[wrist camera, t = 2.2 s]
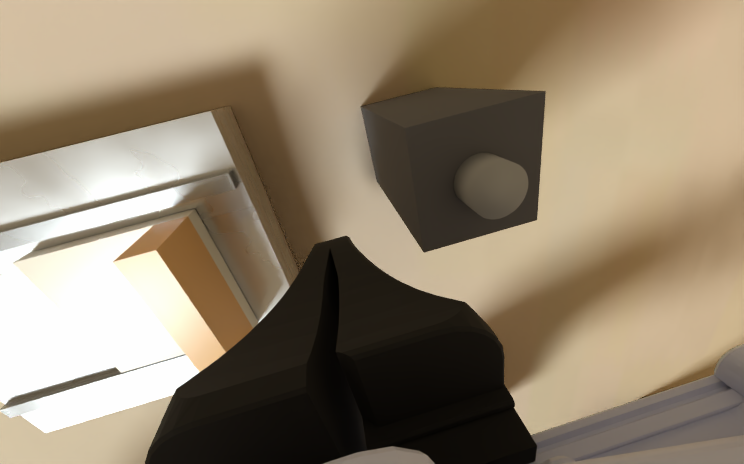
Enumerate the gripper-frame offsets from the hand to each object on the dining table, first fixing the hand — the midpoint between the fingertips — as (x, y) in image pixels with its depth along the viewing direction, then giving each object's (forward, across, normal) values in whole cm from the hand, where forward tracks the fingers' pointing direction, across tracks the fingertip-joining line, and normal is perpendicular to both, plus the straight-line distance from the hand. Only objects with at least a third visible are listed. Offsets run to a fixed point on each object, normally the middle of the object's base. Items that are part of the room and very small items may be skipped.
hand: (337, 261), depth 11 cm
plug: (+4, -4, -3) cm, 7 cm away
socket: (+4, +10, 0) cm, 10 cm away
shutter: (+2, +8, 0) cm, 8 cm away
